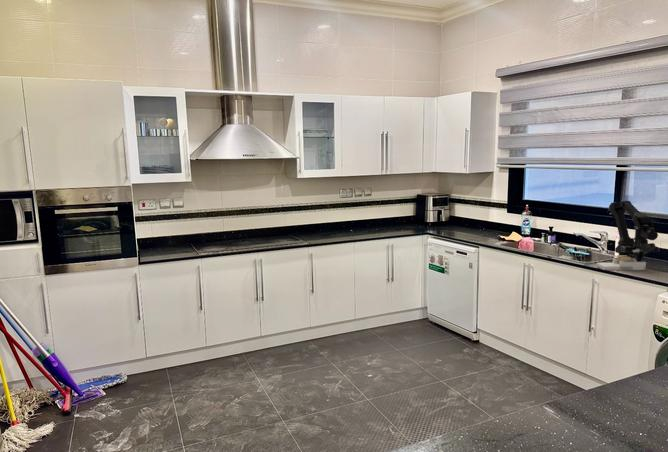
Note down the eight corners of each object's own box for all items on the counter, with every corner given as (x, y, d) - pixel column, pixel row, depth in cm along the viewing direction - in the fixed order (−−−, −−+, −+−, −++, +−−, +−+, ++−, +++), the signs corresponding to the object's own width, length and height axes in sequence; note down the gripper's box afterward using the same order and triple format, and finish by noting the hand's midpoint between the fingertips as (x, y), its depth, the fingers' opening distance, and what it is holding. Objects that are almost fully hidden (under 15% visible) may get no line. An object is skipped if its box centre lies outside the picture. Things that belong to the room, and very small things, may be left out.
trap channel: (596, 265, 277) (597, 258, 276) (636, 265, 274) (637, 258, 274) (603, 269, 268) (604, 262, 267) (645, 269, 265) (645, 262, 265)
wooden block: (616, 263, 273) (617, 255, 273) (625, 263, 273) (626, 255, 272) (621, 265, 268) (621, 257, 268) (630, 265, 268) (630, 257, 267)
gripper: (631, 239, 260) (629, 266, 263) (666, 239, 258) (663, 266, 261) (621, 236, 271) (619, 261, 274) (654, 235, 269) (652, 261, 272)
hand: (638, 262), depth 270 cm, fingers closed
